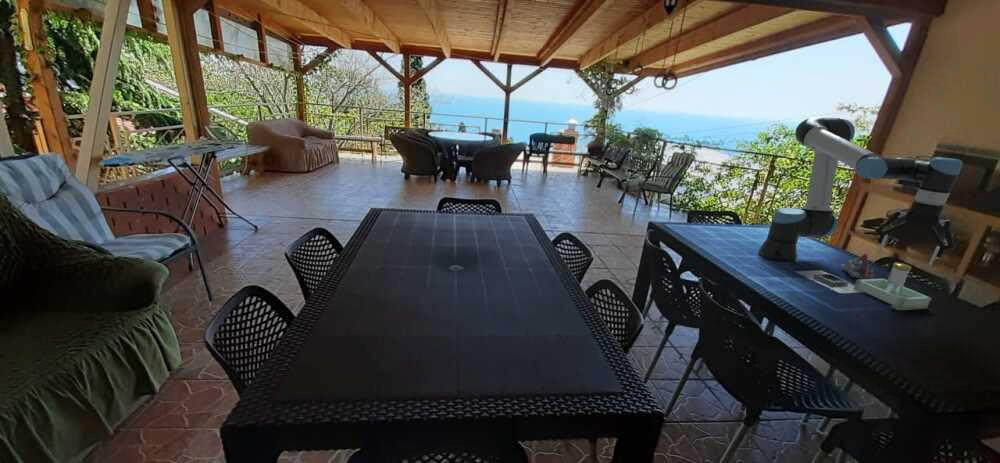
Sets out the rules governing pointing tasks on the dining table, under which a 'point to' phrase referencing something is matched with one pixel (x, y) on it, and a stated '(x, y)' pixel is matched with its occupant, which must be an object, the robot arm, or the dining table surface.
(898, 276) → the jar with gold lid
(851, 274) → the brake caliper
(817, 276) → the stud plate
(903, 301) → the bin
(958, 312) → the dining table surface
